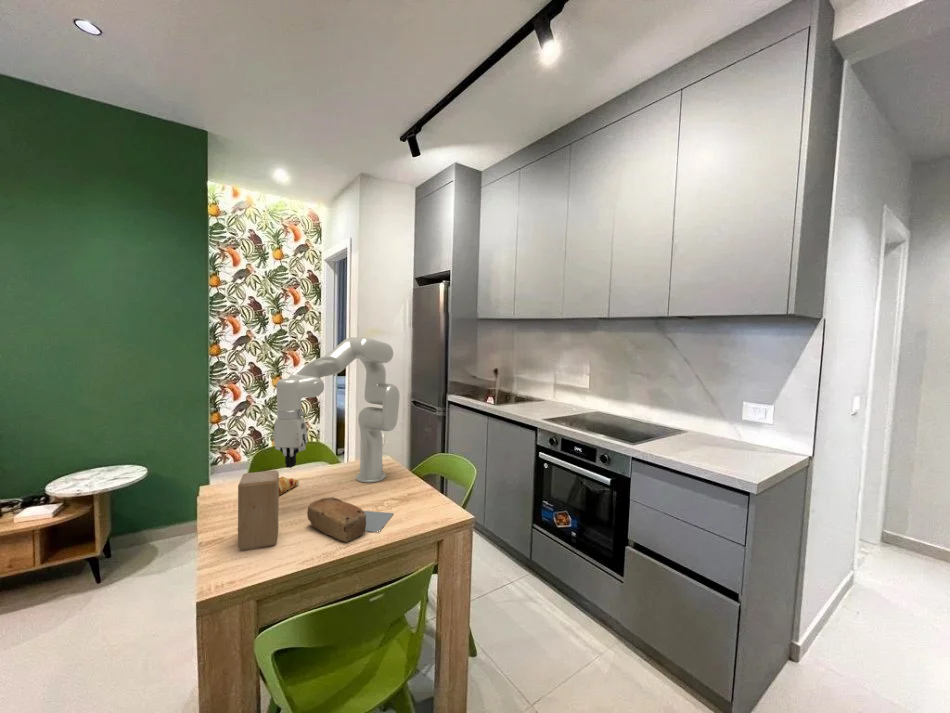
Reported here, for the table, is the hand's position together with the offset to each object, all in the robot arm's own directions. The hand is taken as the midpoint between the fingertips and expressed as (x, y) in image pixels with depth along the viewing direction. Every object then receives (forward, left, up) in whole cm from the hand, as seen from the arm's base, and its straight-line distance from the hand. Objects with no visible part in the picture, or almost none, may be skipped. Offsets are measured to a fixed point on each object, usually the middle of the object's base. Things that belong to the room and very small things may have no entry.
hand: (290, 466), depth 137 cm
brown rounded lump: (+3, +12, -12) cm, 18 cm away
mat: (+1, +25, -17) cm, 30 cm away
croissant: (-16, -17, -17) cm, 29 cm away
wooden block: (+19, +2, -17) cm, 25 cm away
